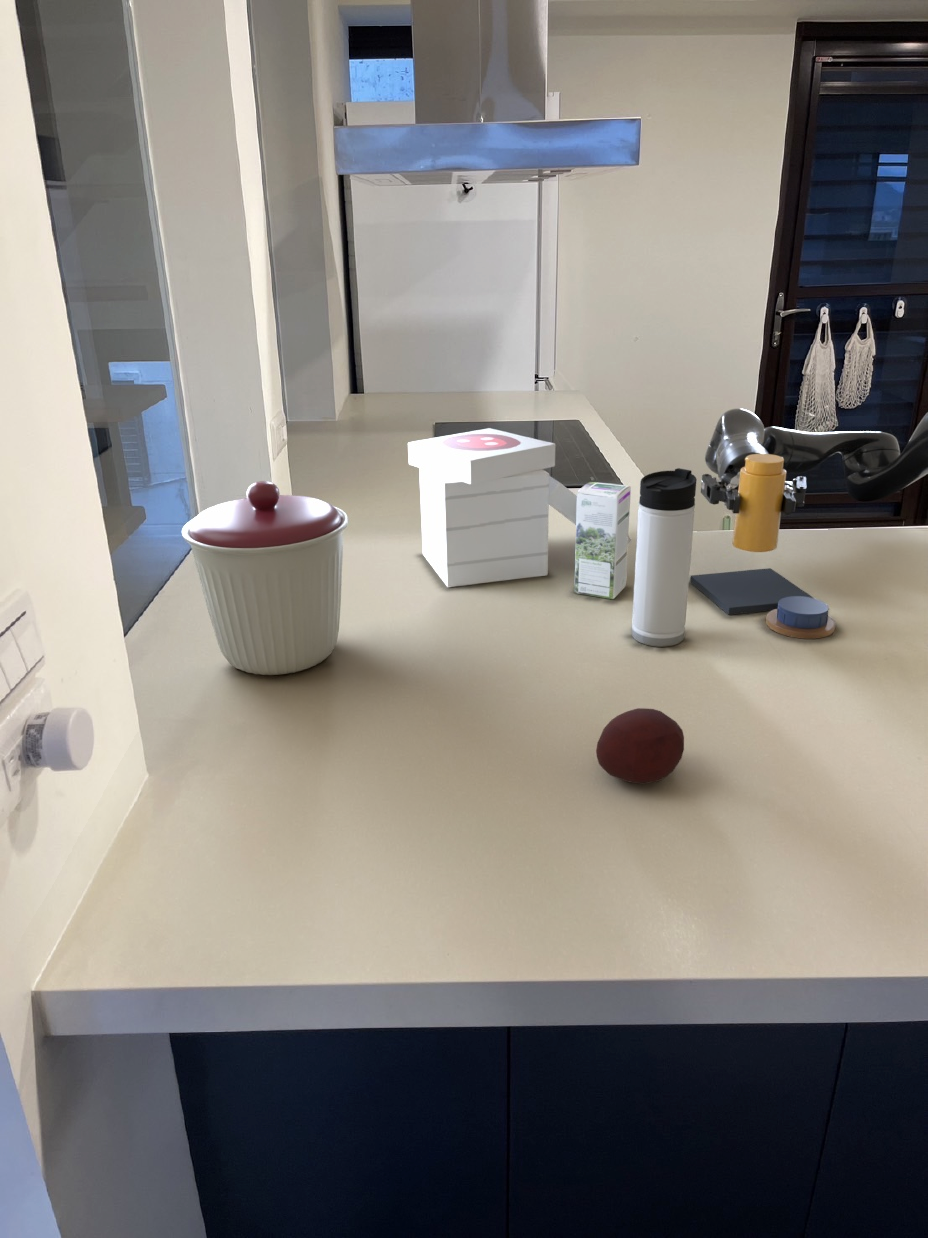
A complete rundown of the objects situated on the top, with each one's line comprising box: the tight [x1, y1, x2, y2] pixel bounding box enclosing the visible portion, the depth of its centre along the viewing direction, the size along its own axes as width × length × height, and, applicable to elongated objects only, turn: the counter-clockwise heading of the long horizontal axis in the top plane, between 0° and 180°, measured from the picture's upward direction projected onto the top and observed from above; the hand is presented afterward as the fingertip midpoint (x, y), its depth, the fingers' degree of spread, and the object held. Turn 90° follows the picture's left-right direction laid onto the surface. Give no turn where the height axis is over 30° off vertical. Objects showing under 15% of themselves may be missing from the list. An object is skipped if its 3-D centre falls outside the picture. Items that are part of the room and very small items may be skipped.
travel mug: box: [631, 467, 697, 648], centre depth 106 cm, size 6×7×20 cm
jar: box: [732, 454, 788, 553], centre depth 117 cm, size 6×6×12 cm
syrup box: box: [574, 481, 632, 600], centre depth 121 cm, size 6×6×14 cm
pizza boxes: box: [407, 427, 633, 588], centre depth 132 cm, size 19×30×18 cm, turn 106°
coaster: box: [765, 608, 836, 640], centre depth 112 cm, size 8×8×1 cm
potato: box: [595, 707, 685, 785], centre depth 81 cm, size 7×8×6 cm
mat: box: [689, 567, 816, 616], centre depth 121 cm, size 12×12×1 cm
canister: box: [181, 480, 350, 676], centre depth 103 cm, size 18×18×21 cm
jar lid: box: [777, 596, 830, 629], centre depth 111 cm, size 6×6×2 cm
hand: (762, 506), depth 114 cm, fingers closed on jar, 5 cm apart
